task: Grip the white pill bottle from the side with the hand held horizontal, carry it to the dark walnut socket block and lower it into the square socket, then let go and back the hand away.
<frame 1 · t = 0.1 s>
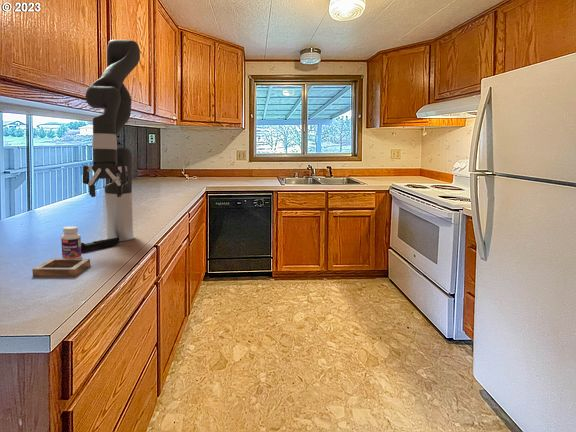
hand: (106, 197, 153), 17 cm above the table, tool pointing down, fingers open, 8 cm apart
socket block: (62, 270, 128), on the table
pill bottle: (72, 259, 142), on the table
electric trimmer: (97, 249, 155), on the table
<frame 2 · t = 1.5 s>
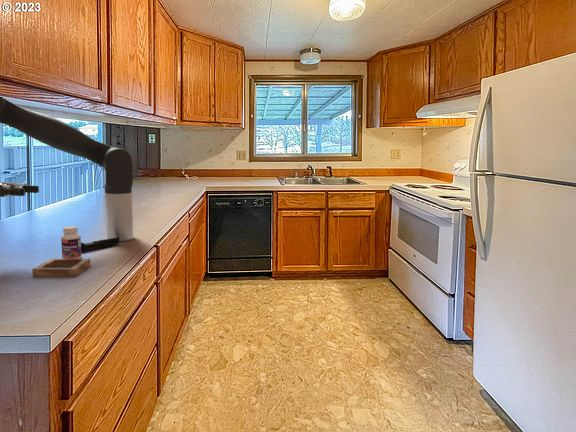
hand: (31, 190, 137), 21 cm above the table, tool horizontal, fingers open, 8 cm apart
nothing on the table moved.
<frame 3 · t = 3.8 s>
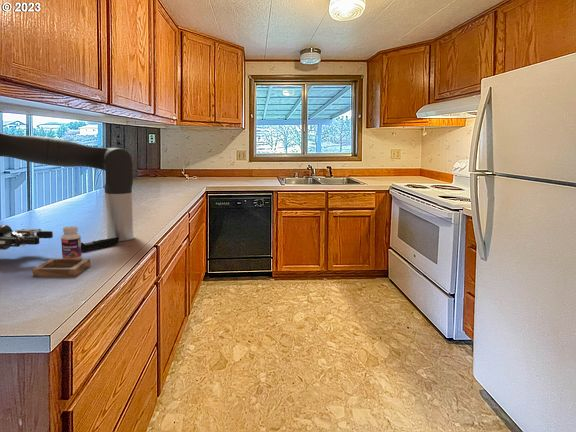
hand: (45, 237, 140), 6 cm above the table, tool horizontal, fingers open, 8 cm apart
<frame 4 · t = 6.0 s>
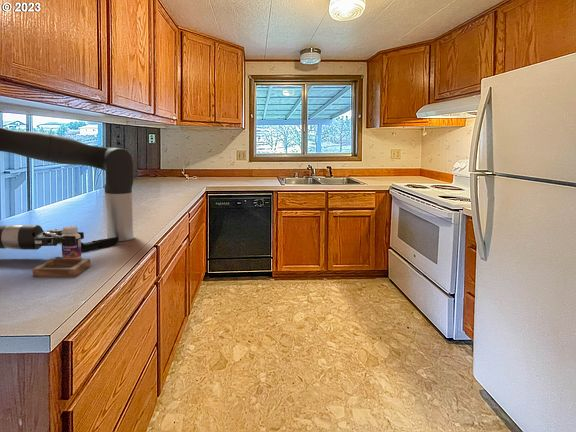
hand: (79, 237, 141), 7 cm above the table, tool horizontal, fingers closed on pill bottle, 5 cm apart
pill bottle: (72, 258, 142), on the table, touching gripper
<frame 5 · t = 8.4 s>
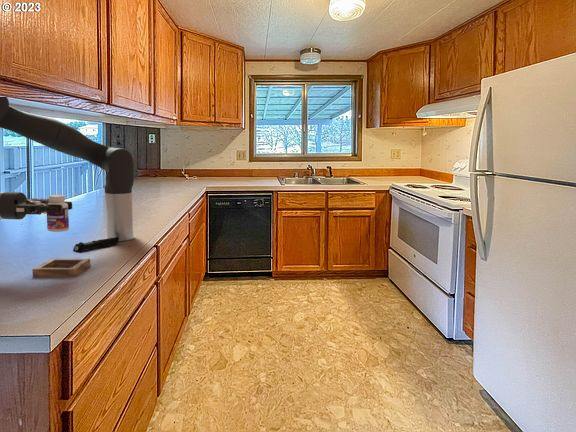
hand: (66, 207, 127), 18 cm above the table, tool horizontal, fingers closed on pill bottle, 5 cm apart
pill bottle: (58, 230, 128), point 11 cm above the table, touching gripper
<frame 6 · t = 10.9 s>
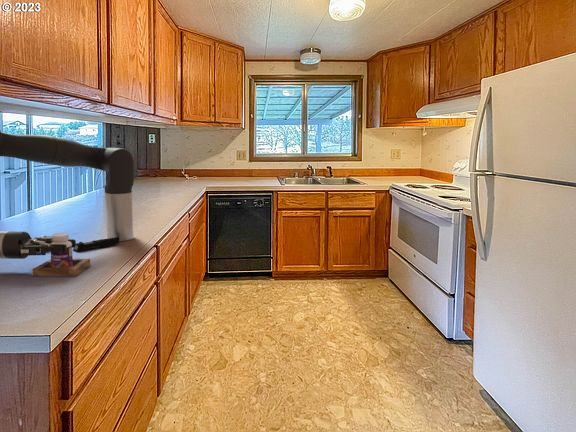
hand: (70, 245, 127), 7 cm above the table, tool horizontal, fingers closed on pill bottle, 5 cm apart
pill bottle: (62, 269, 128), resting in socket block, touching gripper
when the fingers open (7 cm above the table, at t = 11.1 s): pill bottle stays where it is, resting in socket block.
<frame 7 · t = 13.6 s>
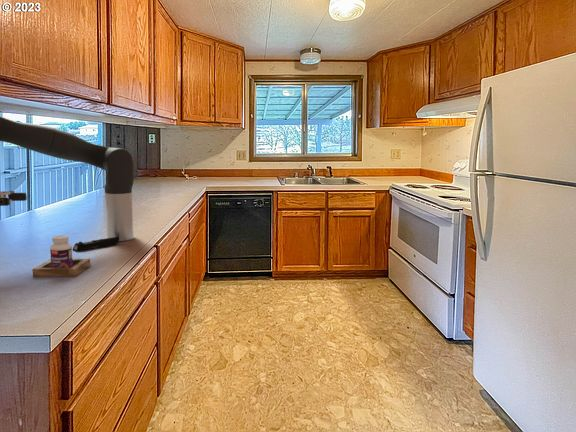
hand: (17, 198, 125), 20 cm above the table, tool horizontal, fingers open, 8 cm apart
pill bottle: (62, 271, 128), resting in socket block
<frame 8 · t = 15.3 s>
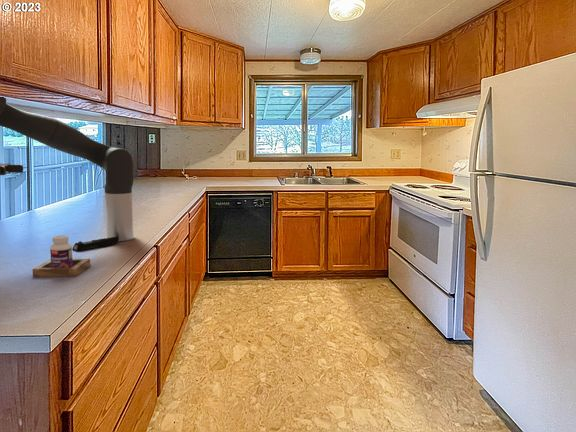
hand: (14, 169, 123), 28 cm above the table, tool horizontal, fingers open, 8 cm apart
at the end: pill bottle 0.1 cm off-centre on the socket block, point 0.0 cm above the socket block's base; pill bottle tilted 0°; the gripper is holding nothing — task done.
